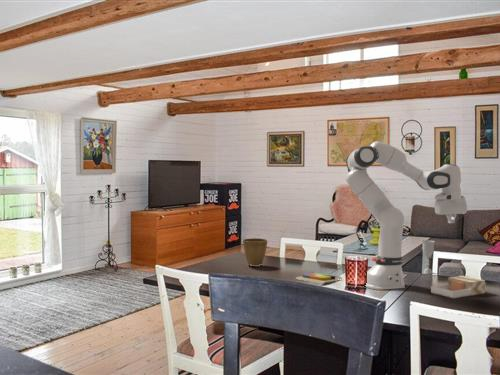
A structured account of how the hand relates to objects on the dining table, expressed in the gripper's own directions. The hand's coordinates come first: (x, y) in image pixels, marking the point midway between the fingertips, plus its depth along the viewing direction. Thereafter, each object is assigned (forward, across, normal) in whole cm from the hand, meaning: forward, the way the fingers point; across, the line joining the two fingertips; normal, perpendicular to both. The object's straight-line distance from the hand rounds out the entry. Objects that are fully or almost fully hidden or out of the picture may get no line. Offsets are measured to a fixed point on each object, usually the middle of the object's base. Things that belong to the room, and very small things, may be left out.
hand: (451, 223), depth 241 cm
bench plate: (+31, +10, +16) cm, 36 cm away
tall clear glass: (+31, -11, -24) cm, 40 cm away
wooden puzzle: (+31, +57, -36) cm, 74 cm away
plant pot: (+30, +67, -86) cm, 113 cm away
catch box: (+30, +21, +17) cm, 41 cm away
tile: (+28, +15, +17) cm, 36 cm away
